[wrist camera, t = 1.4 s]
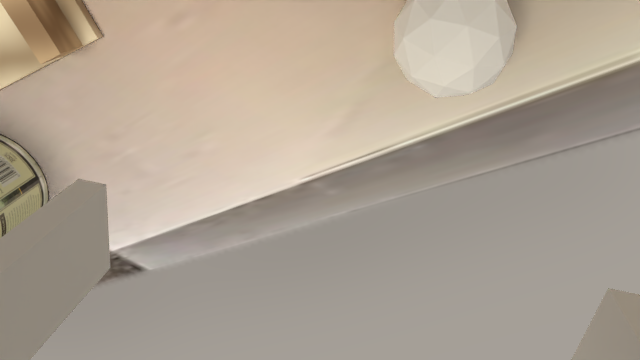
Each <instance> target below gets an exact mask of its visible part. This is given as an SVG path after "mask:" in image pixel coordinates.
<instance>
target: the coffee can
mask: <svg viewBox="0 0 640 360" xmlns="http://www.w3.org/2000/svg"><path fill="white" fill-rule="evenodd" d="M47 202H48V189H47V184H46V180H45V178H44V175H43V173H42V171H41V169H40V168H39V166H38V165H37V163H36V162H35V161H34V159H33V158H32V157H31V156H30V155H29V154H28V153H27V152H26V151H25V150H24V149H23V148H22V147H20V146H19V145H18V144H16V143H15V142H13V141H12V140H10V139H8V138H6V137H4V136H2V135H0V238H1V237H3V236H4V235H5V234H7V233H8V232H9V231H10V230H12V229H13V228H14V227H16V226H17V225H18V224H20V223H21V222H22V221H24V220H25V219H26V218H28V217H29V216H30V215H32V214H33V213H34V212H36V211H37V210H38V209H40V208H41V207H42V206H43V205H45V204H46V203H47Z"/></svg>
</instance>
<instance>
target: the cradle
mask: <svg viewBox="0 0 640 360" xmlns="http://www.w3.org/2000/svg"><path fill="white" fill-rule="evenodd" d="M101 37H103V36H102V34H101V32H100V31H99V29H98V27H97V25H96V24H95V22H94V20H93V19H92V17H91V15H90V14H89V12H88V10H87V9H86V7H85V5H84V4H83V2H82V0H0V90H1V89H3V88H5V87H7V86H9V85H10V84H12V83H14V82H16V81H18V80H20V79H22V78H24V77H26V76H28V75H30V74H32V73H34V72H36V71H37V70H39V69H41V68H43V67H45V66H47V65H49V64H51V63H53V62H55V61H57V60H59V59H61V58H63V57H65V56H66V55H68V54H70V53H72V52H74V51H76V50H78V49H80V48H82V47H84V46H86V45H88V44H90V43H92V42H93V41H95V40H97V39H99V38H101Z"/></svg>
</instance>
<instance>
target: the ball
mask: <svg viewBox="0 0 640 360" xmlns="http://www.w3.org/2000/svg"><path fill="white" fill-rule="evenodd" d="M516 28H517V25H516V23H515V20H514V18H513V15H512V12H511V10H510V7H509V5H508V2H507V0H407V1H406V3H405V5H404V6H403V8H402V10H401V11H400V13H399V15H398V16H397V18H396V20H395V21H394V57H395V59H396V61H397V63H398V65H399V66H400V68H401V70H402V72H403V74H404V75H405V77H406V79H407V80H408V81H409V82H411V83H413V84H414V85H416V86H417V87H419V88H421V89H422V90H424V91H425V92H427V93H429V94H430V95H432V96H433V97H435V98H437V97H451V96H464V95H467V94H471V93H474V92H476V91H478V90H480V89H482V88H484V87H487V86H489V85H491V84H493V83H494V82H495V80H496V79H497V77H498V76H499V74H500V72H501V71H502V69H503V68H504V66H505V65H506V63H507V61H508V60H509V58H510V57H511V55H512V52H513V46H514V40H515V34H516Z"/></svg>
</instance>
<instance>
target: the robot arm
mask: <svg viewBox="0 0 640 360" xmlns="http://www.w3.org/2000/svg"><path fill="white" fill-rule="evenodd" d="M109 269H110V253H109V233H108V212H107V192H106V184H101V183H97V182H92V181H87V180H82V179H78V180H76V181H75V182H74V183H72V184H71V185H70V186H69V187H67V188H66V189H65V190H63V191H62V192H61V193H59V194H58V195H57V196H55V197H54V198H53V199H51V200H50V201H49V202H47V203H46V204H45V205H43V206H42V207H41V208H40V209H38V210H37V211H36V212H34V213H33V214H32V215H30V216H29V217H28V218H26V219H25V220H24V221H22V222H21V223H20V224H18V225H17V226H16V227H14V228H13V229H12V230H10V231H9V232H8V233H7V234H5V235H4V236H3V237H1V238H0V360H30V359H31V358H32V357H33V356H34V355H35V353H36V352H37V351H38V350H39V349H40V348H41V347H42V345H43V344H44V343H45V342H46V341H47V340H48V339H49V337H50V336H51V335H52V334H53V333H54V332H55V331H56V329H57V328H58V327H59V326H60V325H61V324H62V323H63V321H64V320H65V319H66V318H67V317H68V315H69V314H70V313H71V312H72V311H73V310H74V309H75V308H76V306H77V305H78V304H79V303H80V302H81V301H82V300H83V298H84V297H85V296H86V295H87V294H88V293H89V292H90V290H91V289H92V288H93V287H94V286H95V285H96V284H97V282H98V281H99V280H100V279H101V278H102V277H103V276H104V274H105V273H106V272H107V271H108V270H109ZM571 360H640V295H639V294H634V293H629V292H624V291H619V290H614V289H609V288H608V290H607V292H606V294H605V296H604V297H603V299H602V301H601V303H600V305H599V307H598V309H597V311H596V313H595V315H594V317H593V319H592V321H591V323H590V325H589V327H588V328H587V330H586V332H585V334H584V336H583V338H582V340H581V342H580V344H579V346H578V348H577V350H576V352H575V354H574V356H573V358H572V359H571Z"/></svg>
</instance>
